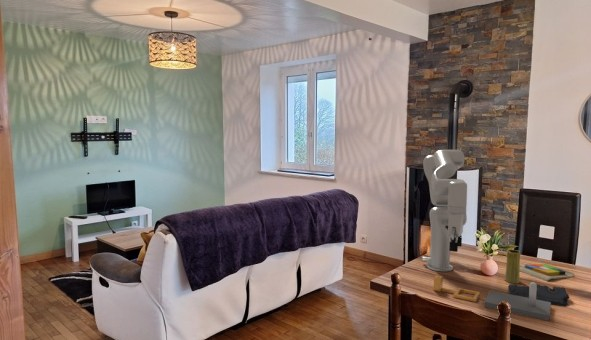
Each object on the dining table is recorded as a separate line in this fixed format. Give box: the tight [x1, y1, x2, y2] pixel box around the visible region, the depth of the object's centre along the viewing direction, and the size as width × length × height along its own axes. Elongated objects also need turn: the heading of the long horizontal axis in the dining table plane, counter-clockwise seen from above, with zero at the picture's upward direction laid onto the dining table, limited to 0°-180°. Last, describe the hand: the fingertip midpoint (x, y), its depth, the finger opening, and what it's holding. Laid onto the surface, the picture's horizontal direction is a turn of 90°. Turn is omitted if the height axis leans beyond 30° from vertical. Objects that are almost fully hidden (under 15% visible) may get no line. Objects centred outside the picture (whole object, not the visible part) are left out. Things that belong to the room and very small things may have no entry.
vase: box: [504, 249, 521, 284], centre depth 190 cm, size 6×6×14 cm
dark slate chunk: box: [507, 283, 571, 307], centre depth 173 cm, size 15×22×5 cm
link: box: [433, 274, 481, 303], centre depth 176 cm, size 18×9×6 cm, turn 56°
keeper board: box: [483, 281, 552, 322], centre depth 162 cm, size 22×14×11 cm, turn 56°
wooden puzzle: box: [520, 262, 575, 282], centre depth 201 cm, size 18×19×4 cm
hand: (455, 248), depth 178 cm, fingers open, 9 cm apart
